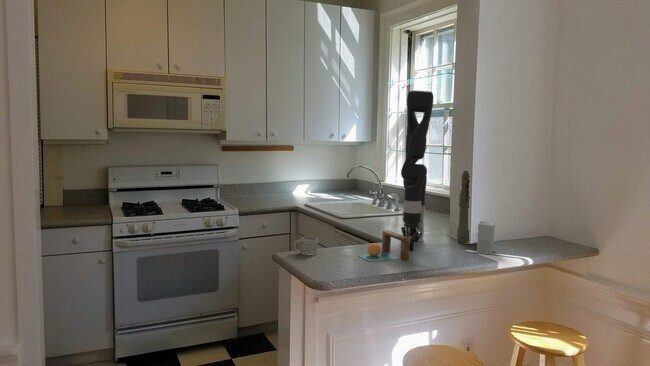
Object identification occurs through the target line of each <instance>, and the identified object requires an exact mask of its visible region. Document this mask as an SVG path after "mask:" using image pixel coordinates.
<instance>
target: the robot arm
mask: <svg viewBox="0 0 650 366" xmlns="http://www.w3.org/2000/svg"><path fill="white" fill-rule="evenodd" d="M433 106H434V94H433V92H432V91H430V90H418V89H417V90H414V89H413V90H410V91H408V94H407V97H406V136H405V160H404V163H403V165H402V167H401V170H400V175H401V178H402V179H403V180H402V183H403V188H404V197H403V198H404V199H403V201H404V202H403V207H402V208H403V209H402V210H403V211H402V221H403V226H401V228H400V229H401V233H402V236H405V237H408V238H410V253H411V252H414V251H415V249H414V248H415V243H418V242H422V241H424V232H425V214H426V213H425V209H426V191H427V190H426V189H427V182H428V181H427V179H428V178H427V177H428V176H427V174H428V169H427V167H426V165H425V164H423V163H422V164H421V163H418V161H420V160H422V159H424V157H425V152H426V151H427V139H428V138H427V135H428V130H429V127H430V122H431V117H432V112H433ZM416 113H423V117H422V119H421V121H420V122H418V119H417V116H416Z"/></svg>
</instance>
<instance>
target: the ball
mask: <svg viewBox="0 0 650 366" xmlns="http://www.w3.org/2000/svg"><path fill="white" fill-rule="evenodd" d="M380 253H382V247H381V246H380V245H379V244H378V243H376V242H373V243H370V244H369V245H368V247H367V254H369V255H371V256H378V255H379V254H380Z"/></svg>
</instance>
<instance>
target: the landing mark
mask: <svg viewBox="0 0 650 366" xmlns="http://www.w3.org/2000/svg"><path fill="white" fill-rule="evenodd" d="M357 256H358V257H359V258H361V259H363V260H365V261H366V262H369V263H371V262H382V261H393V260H400V257H397V256H394V255H392V254H391V253H389V252H386V253H384V252H380V254H379V255H378V256H371V255H369V253H367V254H359V255H357Z"/></svg>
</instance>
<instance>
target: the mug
mask: <svg viewBox="0 0 650 366" xmlns="http://www.w3.org/2000/svg"><path fill="white" fill-rule="evenodd" d="M318 241H319V238H318V237H316V236H303V237H301V239H296V240H294V241H293V251H294V252H296V253H301V254H302V253H304V254H317V255H318V248H319V247H318V246H319V245H318V243H319V242H318ZM299 243H301V249H300V248H299V249H297V244H299ZM297 251H299V252H297Z"/></svg>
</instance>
